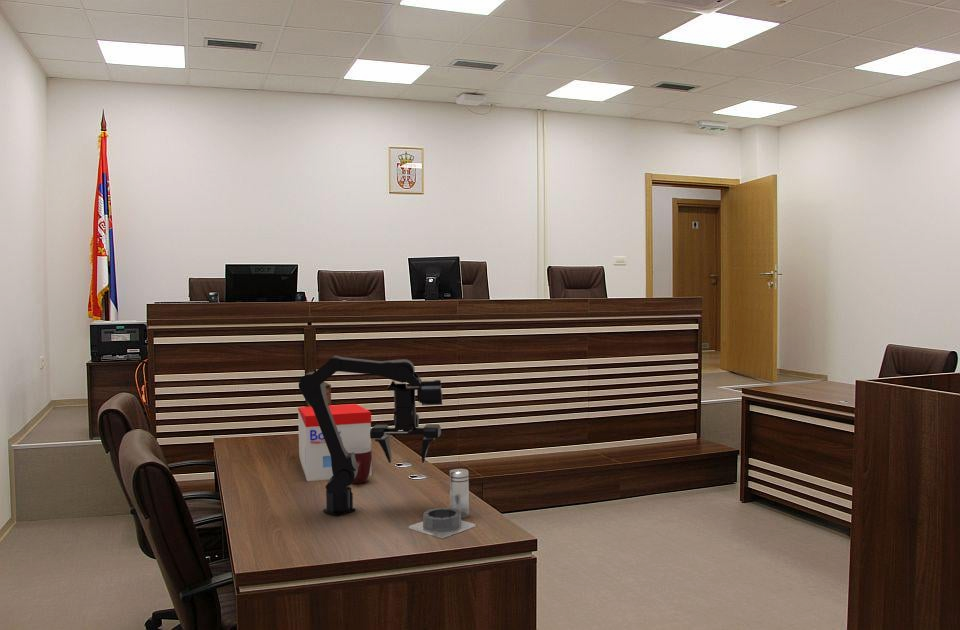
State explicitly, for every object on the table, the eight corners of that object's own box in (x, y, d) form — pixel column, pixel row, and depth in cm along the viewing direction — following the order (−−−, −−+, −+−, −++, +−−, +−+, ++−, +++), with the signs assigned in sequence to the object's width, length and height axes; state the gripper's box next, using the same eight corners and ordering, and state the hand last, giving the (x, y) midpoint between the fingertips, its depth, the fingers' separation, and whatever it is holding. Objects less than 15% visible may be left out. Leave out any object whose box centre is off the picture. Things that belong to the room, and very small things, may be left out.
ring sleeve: (441, 538, 183) (441, 524, 182) (408, 528, 191) (408, 514, 191) (475, 526, 191) (475, 512, 191) (442, 517, 200) (442, 503, 199)
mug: (374, 486, 230) (373, 454, 230) (347, 488, 228) (347, 456, 228) (370, 477, 241) (370, 447, 240) (345, 479, 239) (344, 448, 238)
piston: (459, 519, 197) (459, 474, 197) (446, 515, 201) (445, 471, 200) (472, 515, 201) (472, 470, 200) (459, 511, 204) (458, 467, 204)
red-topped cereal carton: (307, 481, 237) (305, 416, 236) (299, 457, 271) (297, 400, 270) (372, 475, 243) (371, 412, 243) (356, 452, 277) (355, 396, 276)
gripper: (443, 400, 212) (444, 455, 213) (378, 401, 214) (379, 455, 214) (437, 407, 201) (438, 465, 202) (368, 408, 203) (370, 465, 203)
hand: (406, 462), depth 206 cm, fingers open, 9 cm apart
